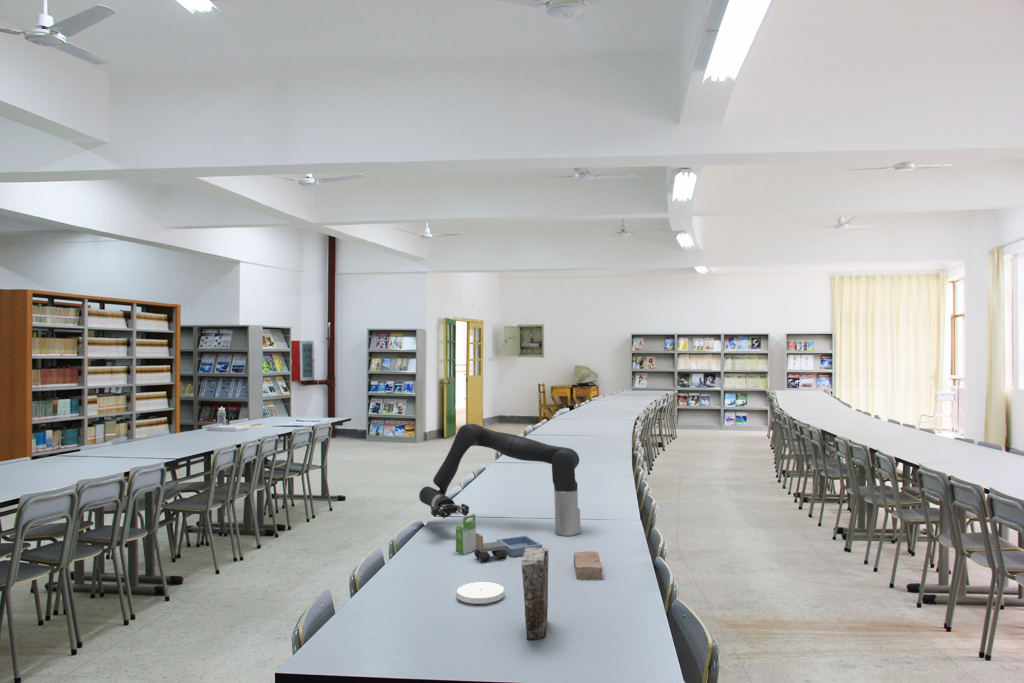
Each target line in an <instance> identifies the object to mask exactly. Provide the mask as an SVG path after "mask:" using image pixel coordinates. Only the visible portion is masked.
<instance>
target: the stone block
mask: <svg viewBox="0 0 1024 683" xmlns="http://www.w3.org/2000/svg"><path fill="white" fill-rule="evenodd" d="M521 558H522V559H521V573H522V574H521V575H522V587H523V600H524V620H525V629H526V632H525V633H526V637H525V639H526V640H527V641H536V640H541V639H543V638H546V635H547V627H548V609H549V608H548V607H549V549H548V548H545V547H542V548H525V551H524V555H523V556H522V557H521Z"/></svg>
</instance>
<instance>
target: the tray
mask: <svg viewBox="0 0 1024 683" xmlns="http://www.w3.org/2000/svg"><path fill="white" fill-rule="evenodd" d="M498 541H499V542H501V543H502V544H504V545H505V546H506V549H504V550H505V551H506V552H507V554H508V555H509V556H508V555H507V556H508V557H510V558H511V557H513V558H518V556H520V557H523V555H524V551H525V548H543V544H542V543H540V542H538V541H537V540H535V539H533V538H532V537H530V536H528V535H519V536H513V537H507V538H506V537H505V538H498V539H496V542H498Z"/></svg>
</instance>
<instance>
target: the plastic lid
mask: <svg viewBox="0 0 1024 683" xmlns="http://www.w3.org/2000/svg"><path fill="white" fill-rule="evenodd" d="M456 597H457V599H458V600H460V601H461V602H464V603H468V604H490V603H493V602H497V601H499V600H500V601H501V599H503V598H504V597H505V587H504V586H503V585H501V584H499V583H496V582H487V581H479V582H478V581H477V582H470V583H466V584H463V585H461V586H459V587H458V588H457V589H456Z"/></svg>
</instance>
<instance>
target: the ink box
mask: <svg viewBox="0 0 1024 683" xmlns="http://www.w3.org/2000/svg"><path fill="white" fill-rule="evenodd" d="M468 519H472V520H469V521H467V520H468ZM476 527H477V524H476V513H473V514H470V515H467V516H463V517H462V523H461V524H458V525H455V553H456V552H458V553H462V554H464V555H466V554H465V553H467V554H469V553H471V552H470V551H472V552H474V551H473V550H476V532H477V530H476ZM468 552H469V553H468ZM462 554H461V555H462Z"/></svg>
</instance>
